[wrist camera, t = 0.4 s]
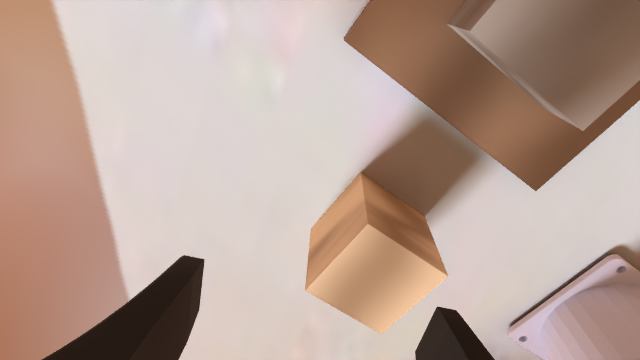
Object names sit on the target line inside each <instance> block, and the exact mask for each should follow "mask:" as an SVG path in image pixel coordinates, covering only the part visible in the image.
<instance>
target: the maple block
mask: <svg viewBox="0 0 640 360" xmlns="http://www.w3.org/2000/svg"><path fill="white" fill-rule="evenodd" d="M447 277H448V274H447V272H446V269H445V267H444V264H443V262H442V259H441V257H440V254H439V252H438V249H437V247H436V244H435V242H434V239H433V237H432V234H431V232H430V229H429V227H428V224H427V222H426V219H425V217H424V216H423V215H422V214H420V213H419V212H417V211H416V210H415V209H413V208H412V207H410V206H409V205H407V204H406V203H404V202H403V201H402V200H400V199H399V198H397V197H396V196H394V195H393V194H391V193H390V192H389V191H387V190H386V189H384V188H383V187H381V186H380V185H378V184H377V183H376V182H374V181H373V180H371V179H370V178H368V177H367V176H365V175H364V174H363V173H361V172H360V173H359V174H358V176H357V177H356V178H355V179H354V180H353V181H352V183H351V184H350V185H349V186H348V187H347V188H346V189H345V191H344V192H343V193H342V194H341V195H340V196H339V198H338V199H337V200H336V201H335V202H334V203H333V204H332V206H331V207H330V208H329V209H328V210H327V211H326V213H325V214H324V215H323V216H322V217H321V218H320V219H319V221H318V222H317V223H316V224H315V225H314V226H313V227H312V229H311V234H310V244H309V255H308V265H307V276H306V286H305V291H307V292H309V293H310V294H312V295H314V296H316V297H317V298H319V299H321V300H323V301H324V302H326V303H328V304H330V305H331V306H333V307H335V308H337V309H338V310H340V311H342V312H344V313H345V314H347V315H349V316H351V317H352V318H354V319H356V320H358V321H359V322H361V323H363V324H365V325H366V326H368V327H370V328H371V329H373V330H375V331H377V332H378V333H380V334H382V333H384V332H385V331H386V330H387V329H388V328H389V327H390V326H392V325H393V324H394V323H395V322H396V321H397V320H398V319H400V318H401V317H402V316H403V315H404V314H405V313H407V312H408V311H409V310H410V309H411V308H412V307H413V306H415V305H416V304H417V303H418V302H419V301H420V300H422V299H423V298H424V297H425V296H426V295H427V294H428V293H430V292H431V291H432V290H433V289H434V288H435V287H437V286H438V285H439V284H440V283H441V282H442V281H443V280H445V279H446V278H447Z"/></svg>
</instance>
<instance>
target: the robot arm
mask: <svg viewBox="0 0 640 360" xmlns="http://www.w3.org/2000/svg"><path fill="white" fill-rule="evenodd" d="M620 266H621V267H620ZM618 267H620V268H618ZM203 268H204V259H200V258H195V257H190V256H185V255H184V256H182V257H180V258H179V259H178V260H177V261H176V262H175V263H174V264H173V265H171V266H170V267H169V268H168V269H167V270H166V271H165V272H164V273H163V274H161V275H160V276H159V277H158V278H157V279H156V280H154V281H153V282H152V283H151V284H150V285H149V286H147V287H146V288H145V289H144V290H142V291H141V292H140V293H139V294H137V295H136V296H135V297H134V298H132V299H131V300H130V301H129V302H127V303H126V304H125V305H124V306H122V307H121V308H119V309H118V310H117V311H115V312H114V313H113V314H111V315H110V316H109V317H107V318H106V319H105V320H103V321H102V322H101V323H99V324H98V325H96V326H95V327H93V328H92V329H90V330H89V331H87V332H86V333H84V334H83V335H81V336H80V337H78V338H77V339H75V340H73V341H72V342H70V343H69V344H67V345H66V346H64V347H62V348H61V349H59V350H57V351H56V352H54V353H53V354H51V355H49V356H47V357H46V358H44V359H42V360H178V359H179V357H180V355H181V353H182V351H183V349H184V347H185V345H186V343H187V341H188V338H189V336H190V333H191V330H192V328H193V325H194V322H195V319H196V317H197V314H198V311H199V305H200V296H201V287H202V277H203ZM507 333H508V336H509V337H510V339H511V340H513V341H515V342H516V343H518V344H519V345H521V346H522V347H524V348H526V349H527V350H529V351H530V352H532V353H533V354H535V355H537V356H538V357H540V358H541V359H543V360H640V271H638V270H637V269H636V268H635V267H633V266H632V265H631V264H630V263H628V262H627V261H626V260H624V259H623V258H622V257H621V256H619V255H617V254H613V255H609V256H607V257H606V258H604V259H603V260H601V261H600V262H599V263H597V264H596V265H595V266H593V267H592V268H591V269H589V270H588V271H586V272H585V273H584V274H582V275H581V276H580V277H578V278H577V279H576V280H574V281H573V282H571V283H570V284H569V285H567V286H566V287H565V288H563V289H562V290H560V291H559V292H558V293H556V294H555V295H554V296H552V297H551V298H550V299H548V300H547V301H545V302H544V303H543V304H541V305H540V306H539V307H537V308H536V309H535V310H533V311H532V312H530V313H529V314H528V315H526V316H525V317H524V318H522V319H521V320H520V321H518V322H517V323H515V324H514V325H513V326H511V327H510V328H509V329H508V331H507ZM415 354H416V360H494V358H493V357H492V356H491V354H490V353H489V352H488V351H487V349H486V348H485V347H484V345H483V344H482V343H481V341H480V340H479V339H478V338H477V336H476V335H475V334H474V332H473V331H472V330H471V328H470V327H469V326H468V325H467V323H466V322H465V321H464V319H463V318H462V317H461V316H460V314H459V313H458V312H457V311H456V310H452V309H447V308H442V307H437V308H436V310H435V312H434V314H433V316H432V318H431V320H430V322H429V324H428V326H427V329H426V331H425V333H424V335H423V337H422V339H421V341H420V343H419V345H418V347H417V349H416V351H415Z"/></svg>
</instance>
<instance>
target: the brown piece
mask: <svg viewBox="0 0 640 360" xmlns="http://www.w3.org/2000/svg"><path fill="white" fill-rule="evenodd" d="M344 41H346V42H347V43H348V44H349V45H351V46H352V47H353V48H354V49H356V50H357V51H358V52H360V53H361V54H362V55H363V56H365V57H366V58H367V59H368V60H370V61H371V62H372V63H373V64H375V65H376V66H377V67H379V68H380V69H381V70H382V71H384V72H385V73H386V74H387V75H389V76H390V77H391V78H393V79H394V80H395V81H396V82H398V83H399V84H400V85H401V86H403V87H404V88H405V89H407V90H408V91H409V92H410V93H412V94H413V95H414V96H415V97H417V98H418V99H419V100H421V101H422V102H423V103H424V104H426V105H427V106H428V107H429V108H431V109H432V110H433V111H435V112H436V113H437V114H438V115H440V116H441V117H442V118H443V119H445V120H446V121H447V122H449V123H450V124H451V125H452V126H454V127H455V128H456V129H457V130H459V131H460V132H461V133H462V134H464V135H465V136H466V137H468V138H469V139H470V140H471V141H473V142H474V143H475V144H476V145H478V146H479V147H480V148H482V149H483V150H484V151H485V152H487V153H488V154H489V155H490V156H492V157H493V158H494V159H496V160H497V161H498V162H499V163H501V164H502V165H503V166H504V167H506V168H507V169H508V170H510V171H511V172H512V173H513V174H515V175H516V176H517V177H518V178H520V179H521V180H522V181H524V182H525V183H526V184H527V185H529V186H530V187H531V188H532V189H534V190H535V191H537V190H538V189H539V188H540V187H541V186H542V185H544V184H545V183H546V182H547V181H548V180H549V179H550V178H552V177H553V176H554V175H555V174H556V173H557V172H558V171H559V170H561V169H562V168H563V167H564V166H565V165H566V164H567V163H569V162H570V161H571V160H572V159H573V158H574V157H575V156H577V155H578V154H579V153H580V152H581V151H582V150H583V149H585V148H586V147H587V146H588V145H589V144H590V143H591V142H593V141H594V140H595V139H596V138H597V137H598V136H599V135H600V134H602V133H603V132H604V131H605V130H606V129H607V128H608V127H610V126H611V125H612V124H613V123H614V122H615V121H616V120H618V119H619V118H620V117H621V116H622V115H623V114H624V113H626V112H627V111H628V110H629V109H630V108H631V107H632V106H634V105H635V104H636V103H637V102H638V101H639V100H640V0H371V1H370V2H369V4H368V5H367V6H366V8H365V9H364V11H363V12H362V13H361V15H360V16H359V18H358V19H357V20H356V22H355V23H354V25H353V26H352V27H351V29H350V30H349V32H348V33H347V34H346V36H345V37H344Z"/></svg>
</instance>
